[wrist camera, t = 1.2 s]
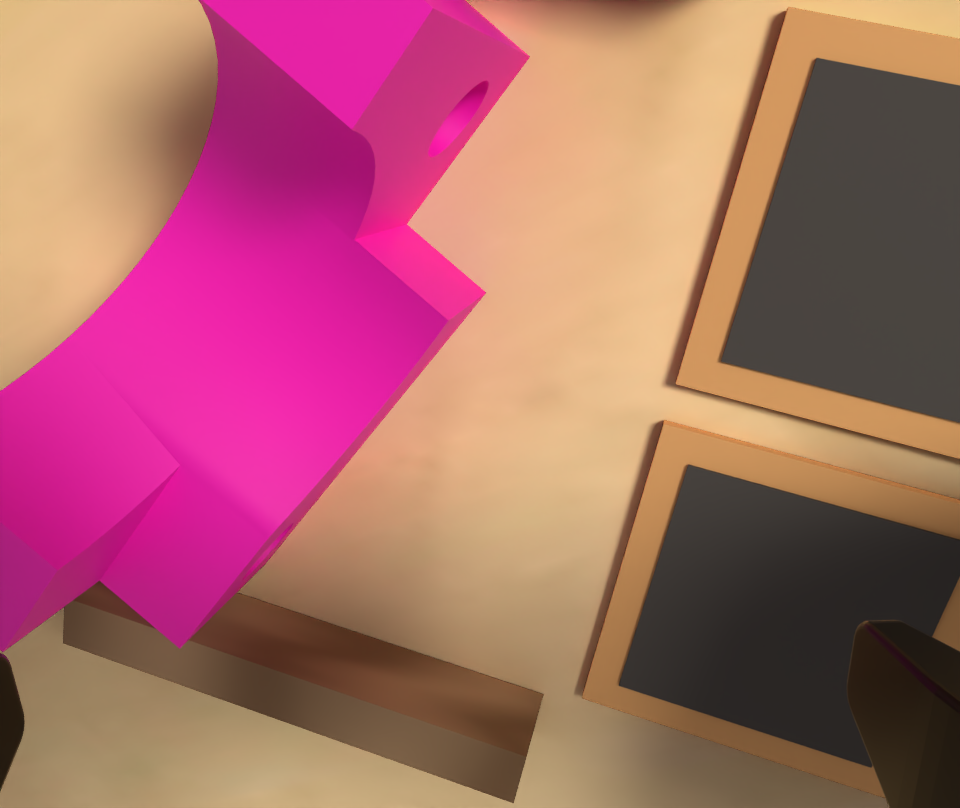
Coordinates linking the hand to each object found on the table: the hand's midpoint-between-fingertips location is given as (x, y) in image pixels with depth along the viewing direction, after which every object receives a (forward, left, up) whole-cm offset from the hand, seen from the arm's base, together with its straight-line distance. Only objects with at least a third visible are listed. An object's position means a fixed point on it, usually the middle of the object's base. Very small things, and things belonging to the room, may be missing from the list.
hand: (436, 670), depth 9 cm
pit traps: (-6, 0, -12) cm, 13 cm away
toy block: (+7, 0, -12) cm, 14 cm away
